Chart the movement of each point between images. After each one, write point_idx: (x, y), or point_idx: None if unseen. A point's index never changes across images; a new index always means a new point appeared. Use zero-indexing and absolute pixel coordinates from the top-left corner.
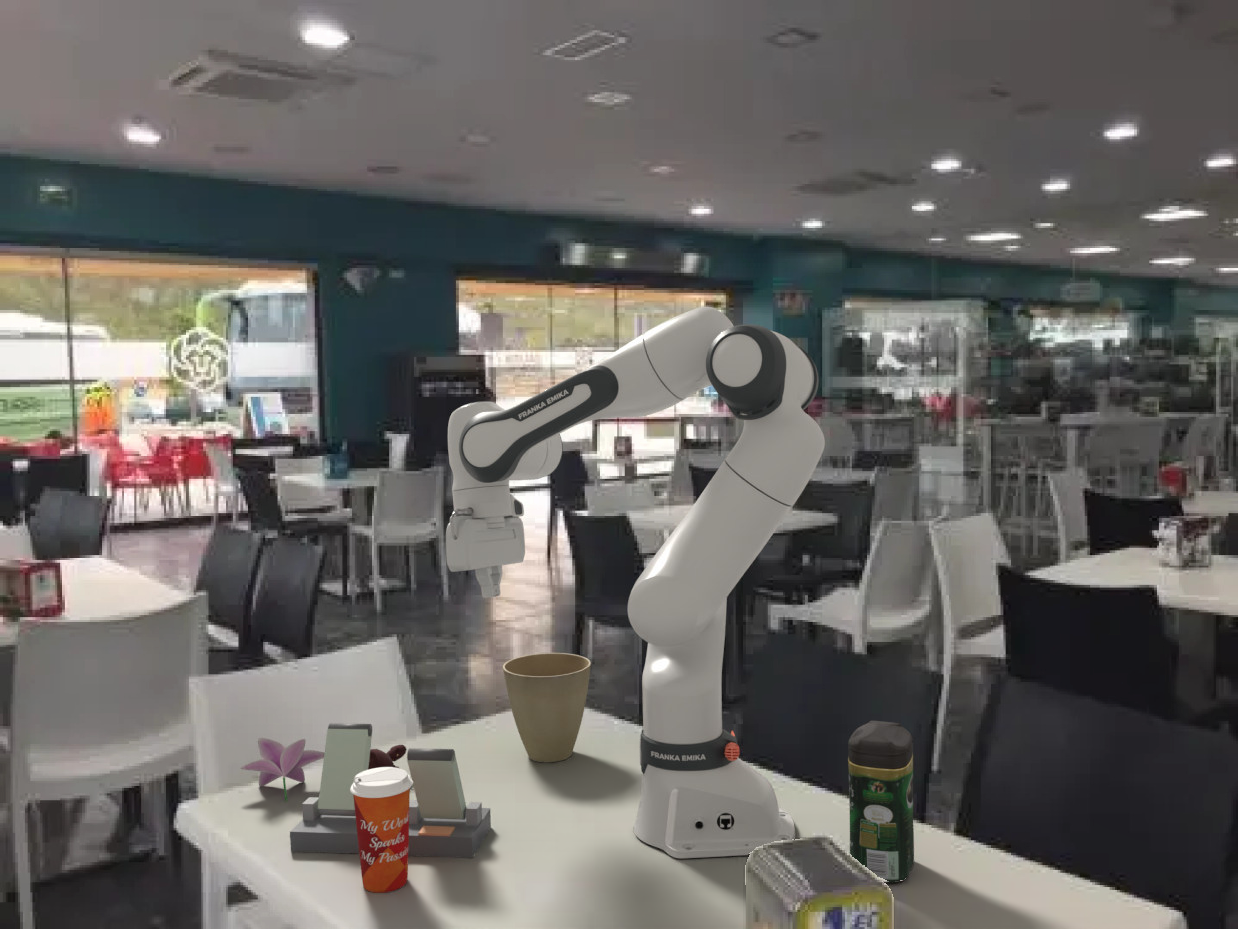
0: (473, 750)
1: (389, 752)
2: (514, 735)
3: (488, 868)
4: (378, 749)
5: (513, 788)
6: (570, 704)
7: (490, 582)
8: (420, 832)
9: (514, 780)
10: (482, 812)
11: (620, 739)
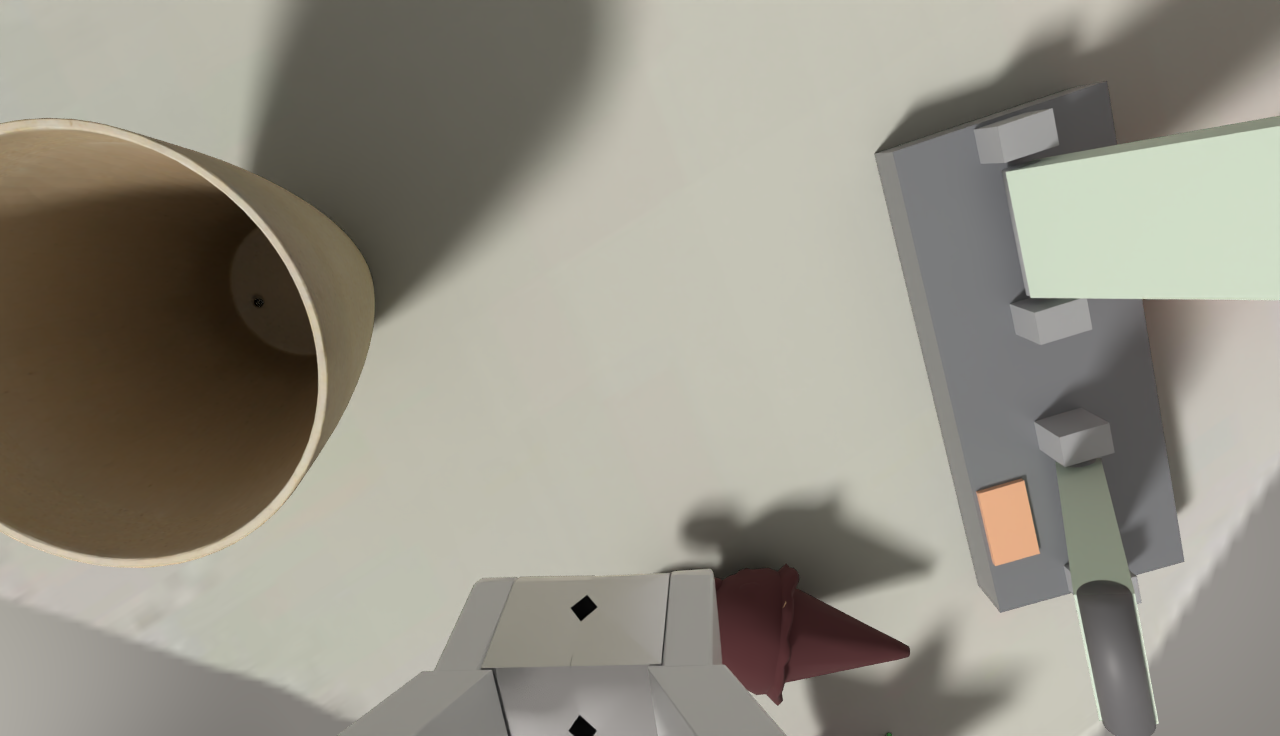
0: (379, 524)
1: None
2: None
3: (1119, 7)
4: (737, 660)
5: (594, 249)
6: (247, 171)
7: (745, 701)
8: None
9: (537, 280)
10: (930, 156)
11: None
